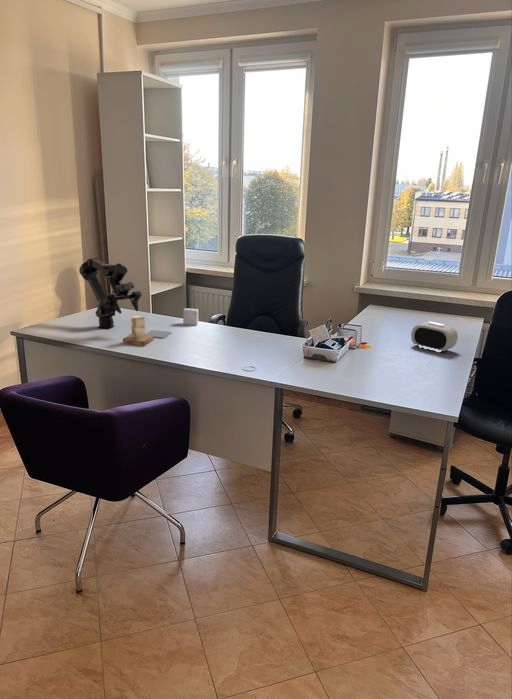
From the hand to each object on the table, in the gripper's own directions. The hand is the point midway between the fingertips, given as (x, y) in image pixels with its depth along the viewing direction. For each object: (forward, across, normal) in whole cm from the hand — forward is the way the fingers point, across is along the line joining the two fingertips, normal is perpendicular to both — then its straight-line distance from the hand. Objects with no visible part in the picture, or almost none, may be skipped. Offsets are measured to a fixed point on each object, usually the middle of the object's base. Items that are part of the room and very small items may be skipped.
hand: (129, 312), depth 248 cm
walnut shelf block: (+15, 0, +4) cm, 16 cm away
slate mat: (+11, +14, +8) cm, 20 cm away
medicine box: (+6, +41, +13) cm, 44 cm away
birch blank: (+13, 0, +2) cm, 14 cm away
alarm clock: (+82, +114, -63) cm, 154 cm away
